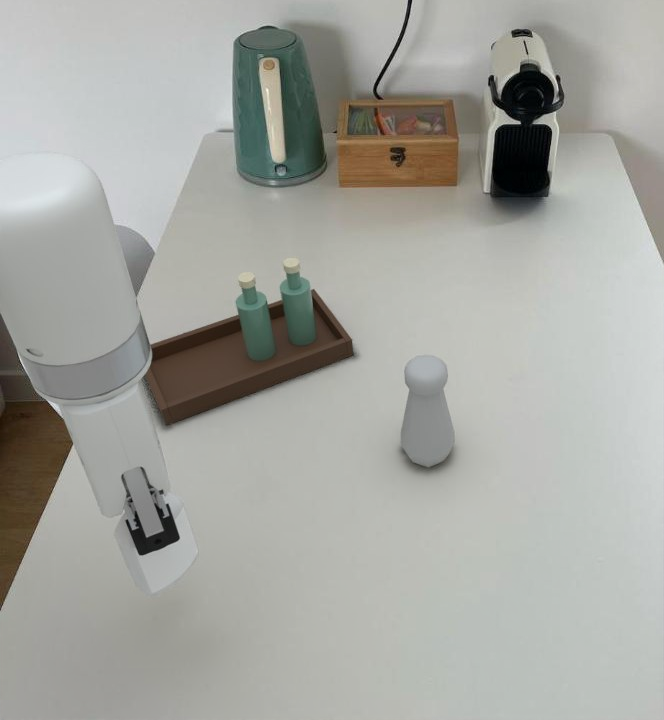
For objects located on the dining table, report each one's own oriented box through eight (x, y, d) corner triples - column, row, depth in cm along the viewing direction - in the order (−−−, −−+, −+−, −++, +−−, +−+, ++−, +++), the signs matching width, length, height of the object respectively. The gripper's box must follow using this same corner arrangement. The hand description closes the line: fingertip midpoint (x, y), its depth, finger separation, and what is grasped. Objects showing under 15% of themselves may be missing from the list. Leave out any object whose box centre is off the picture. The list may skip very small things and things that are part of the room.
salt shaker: (430, 424, 91) (429, 337, 82) (465, 454, 87) (468, 366, 78) (390, 450, 88) (384, 363, 79) (424, 482, 85) (422, 394, 76)
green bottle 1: (252, 364, 98) (236, 290, 90) (242, 347, 100) (225, 273, 93) (280, 354, 99) (266, 280, 91) (269, 338, 102) (255, 263, 94)
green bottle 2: (294, 349, 100) (282, 275, 92) (284, 333, 102) (270, 258, 94) (321, 339, 101) (311, 265, 93) (310, 323, 103) (299, 249, 96)
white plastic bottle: (207, 578, 67) (178, 486, 59) (139, 603, 66) (100, 512, 58) (195, 538, 70) (166, 445, 62) (129, 561, 69) (91, 469, 61)
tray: (166, 425, 92) (160, 409, 90) (140, 365, 100) (134, 349, 98) (353, 355, 100) (352, 339, 98) (316, 304, 107) (314, 288, 105)
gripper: (4, 294, 56) (80, 468, 68) (49, 458, 44) (129, 630, 57) (114, 263, 58) (168, 436, 70) (183, 411, 47) (231, 585, 59)
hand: (150, 521), depth 63 cm, fingers closed on white plastic bottle, 4 cm apart
